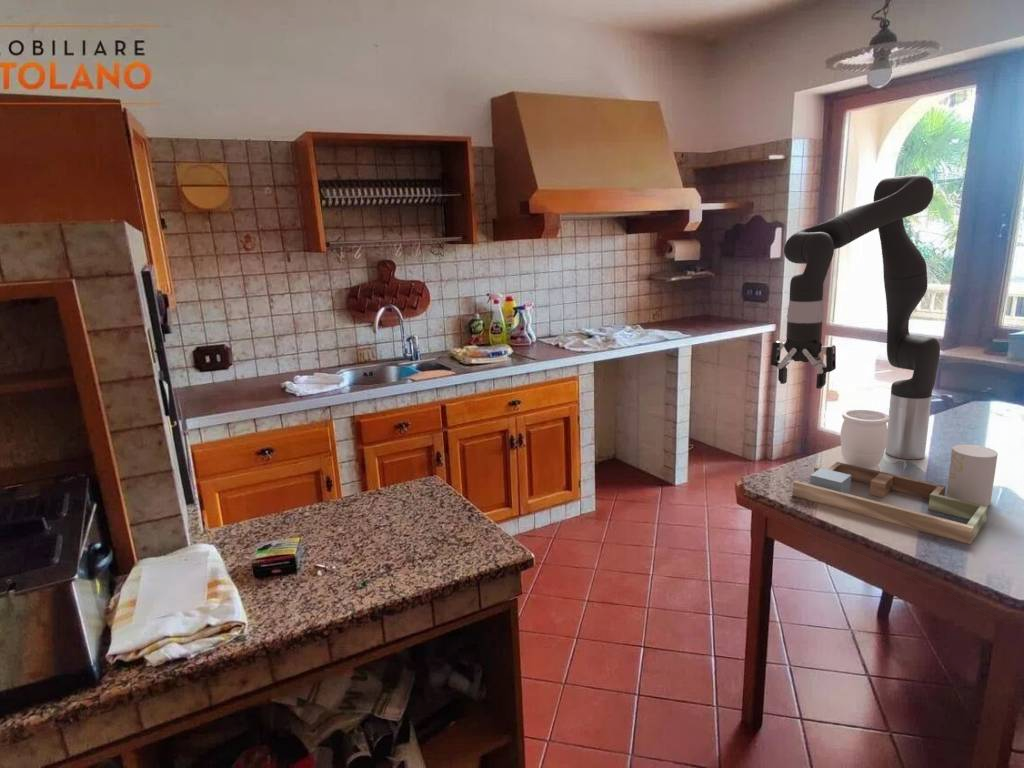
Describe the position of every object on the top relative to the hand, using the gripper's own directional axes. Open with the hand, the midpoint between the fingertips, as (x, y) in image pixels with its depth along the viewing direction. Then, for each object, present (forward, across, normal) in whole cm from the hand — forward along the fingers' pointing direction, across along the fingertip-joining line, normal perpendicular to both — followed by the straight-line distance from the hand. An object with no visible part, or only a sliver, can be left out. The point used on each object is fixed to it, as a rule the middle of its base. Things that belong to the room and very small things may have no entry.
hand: (800, 385), depth 143 cm
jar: (+26, -8, -20) cm, 34 cm away
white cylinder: (+26, -32, -16) cm, 45 cm away
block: (+26, -8, 0) cm, 28 cm away
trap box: (+26, -20, -3) cm, 33 cm away
